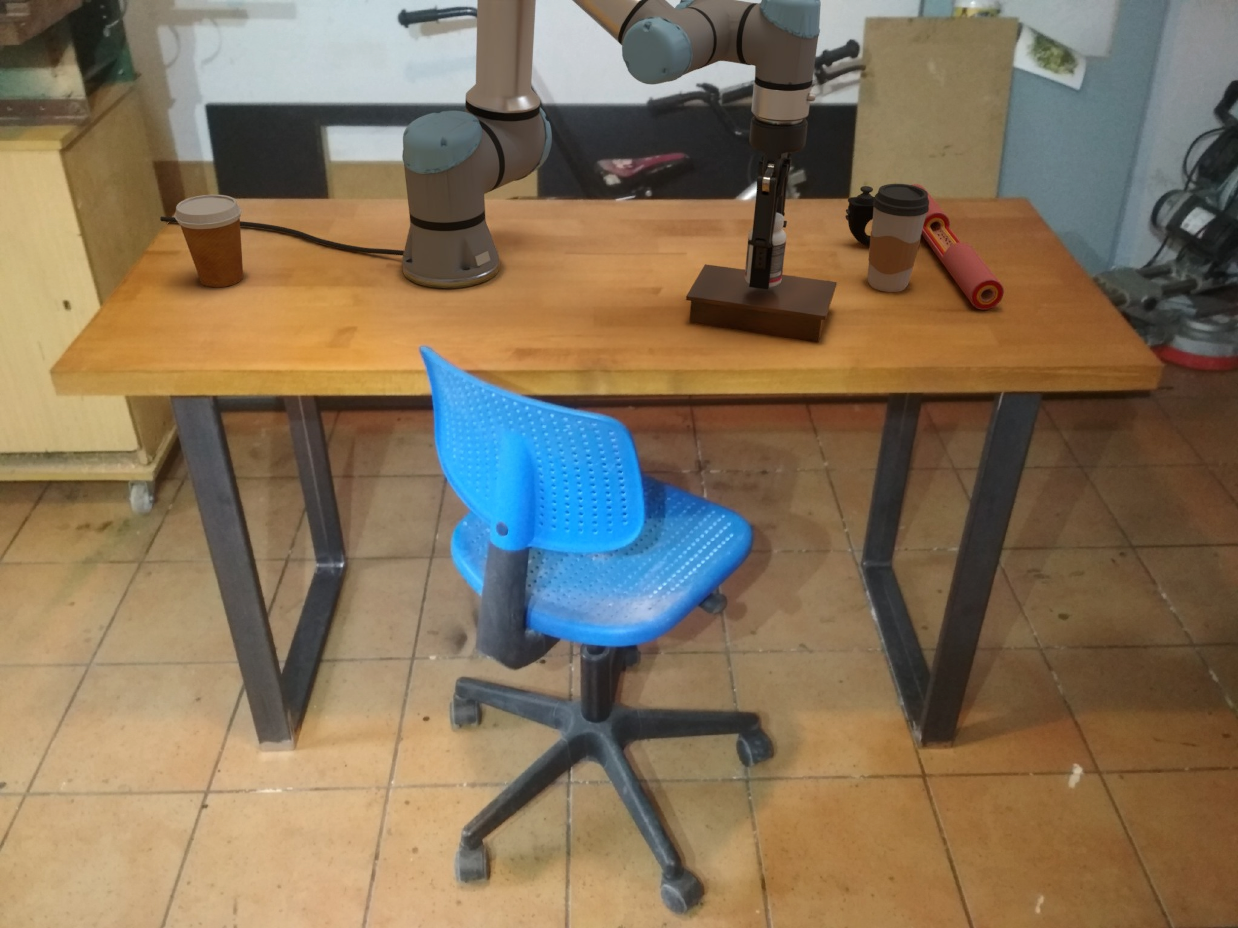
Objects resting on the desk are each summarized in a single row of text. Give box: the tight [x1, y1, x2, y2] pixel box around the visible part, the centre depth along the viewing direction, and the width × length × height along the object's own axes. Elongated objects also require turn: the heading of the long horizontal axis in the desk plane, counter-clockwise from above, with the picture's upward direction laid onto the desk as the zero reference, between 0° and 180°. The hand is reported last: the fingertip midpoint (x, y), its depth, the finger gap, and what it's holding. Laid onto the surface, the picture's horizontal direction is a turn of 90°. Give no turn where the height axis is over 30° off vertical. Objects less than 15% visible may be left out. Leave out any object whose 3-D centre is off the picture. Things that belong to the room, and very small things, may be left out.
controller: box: [844, 185, 875, 247], centre depth 178 cm, size 4×12×10 cm, turn 95°
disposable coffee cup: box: [174, 194, 244, 288], centre depth 162 cm, size 10×10×12 cm
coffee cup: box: [866, 183, 929, 293], centre depth 163 cm, size 8×8×15 cm
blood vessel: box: [911, 183, 1005, 311], centre depth 176 cm, size 42×5×5 cm, turn 2°
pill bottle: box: [744, 213, 787, 287], centre depth 151 cm, size 5×5×10 cm
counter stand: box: [685, 263, 838, 343], centre depth 156 cm, size 20×12×4 cm, turn 73°
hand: (762, 278), depth 154 cm, fingers open, 5 cm apart
